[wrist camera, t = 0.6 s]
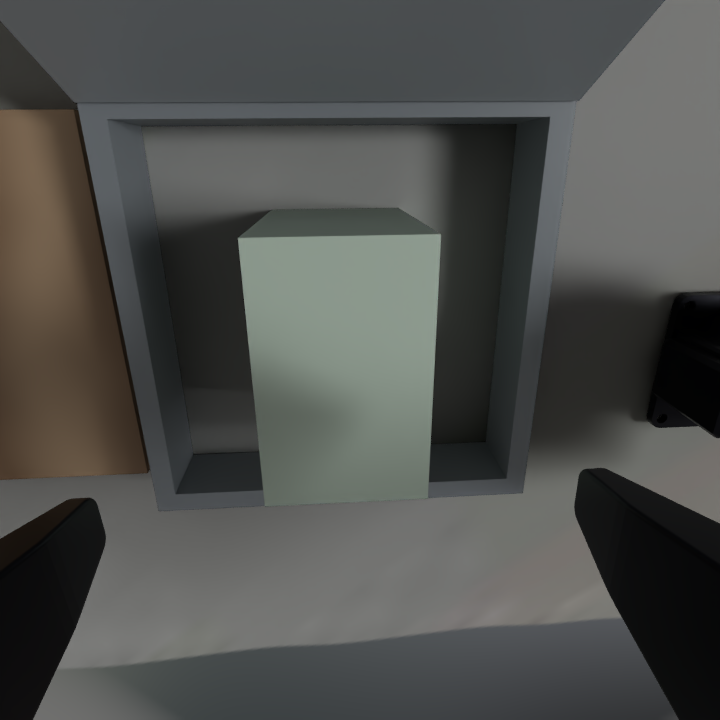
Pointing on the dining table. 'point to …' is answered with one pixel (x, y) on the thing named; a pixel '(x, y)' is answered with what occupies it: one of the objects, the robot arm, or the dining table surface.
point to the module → (342, 352)
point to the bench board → (59, 312)
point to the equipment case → (325, 107)
